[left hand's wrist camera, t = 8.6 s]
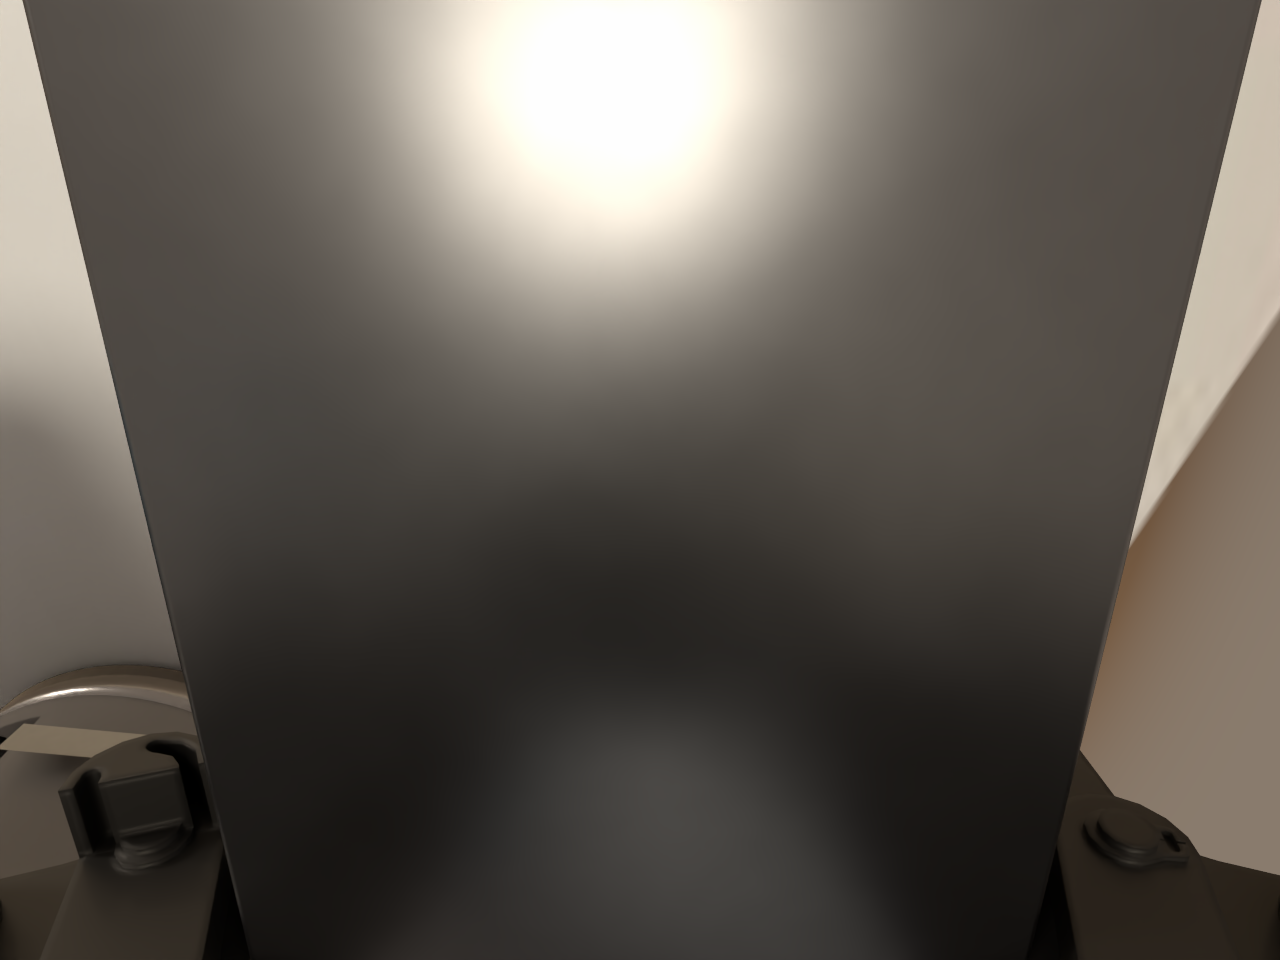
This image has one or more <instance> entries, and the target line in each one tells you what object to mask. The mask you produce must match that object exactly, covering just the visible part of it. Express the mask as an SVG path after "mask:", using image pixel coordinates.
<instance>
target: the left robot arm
mask: <svg viewBox="0 0 1280 960" xmlns="http://www.w3.org/2000/svg"><path fill="white" fill-rule="evenodd" d="M0 960H251V959H250V955H249V950H248V946H247V942H246V938H245V934H244V929H243V925H242V921H241V917H240V913H239V908H238V904H237V900H236V896H235V891H234V887H233V883H232V879H231V875H230V870H229V866H228V862H227V858H226V854H225V849H224V845H223V841H222V837H221V833H220V828H219V824H218V820H217V816H216V812H215V807H214V803H213V799H212V795H211V791H210V786H209V782H208V778H207V774H206V769H205V765H204V761H203V757H202V753H201V748H200V744H199V740H198V736H197V732H196V727H195V723H194V719H193V715H192V711H191V706H190V702H189V698H188V694H187V690H186V685H185V681H184V677H183V673H182V671H178V670H172V669H167V668H161V667H152V666H142V665H109V666H97V667H91V668H85V669H79V670H75V671H71V672H67V673H63V674H60V675H57V676H55V677H52V678H49V679H47V680H44V681H42V682H40V683H38V684H36V685H34V686H32V687H30V688H28V689H27V690H25V691H24V692H22V693H21V694H19V695H18V696H16V697H15V698H14V699H13V700H11V701H10V702H9V703H8V704H7V705H5V706H4V707H3V708H2V709H1V710H0ZM1029 960H1280V875H1276V874H1271V873H1267V872H1263V871H1259V870H1254V869H1250V868H1246V867H1241V866H1237V865H1233V864H1228V863H1224V862H1220V861H1216V860H1213V859H1210V858H1206V857H1203V856H1200V855H1199V853H1198V852H1197V850H1196V849H1195V847H1194V846H1193V844H1192V843H1191V841H1190V840H1189V838H1188V837H1187V836H1186V835H1185V834H1184V833H1183V832H1181V831H1180V830H1179V829H1178V828H1177V827H1176V826H1174V825H1173V824H1172V823H1171V822H1170V821H1168V820H1167V819H1166V818H1164V817H1162V816H1161V815H1159V814H1157V813H1155V812H1153V811H1151V810H1150V809H1148V808H1146V807H1144V806H1142V805H1140V804H1138V803H1134V802H1131V801H1128V800H1125V799H1122V798H1119V797H1115V796H1114V795H1113V793H1112V792H1111V791H1110V789H1109V788H1108V787H1107V786H1106V784H1105V783H1104V782H1103V780H1102V779H1101V778H1100V776H1099V775H1098V774H1097V772H1096V771H1095V770H1094V768H1093V767H1092V766H1091V764H1090V763H1089V762H1088V760H1087V759H1086V758H1085V756H1084V755H1083V754H1082V752H1081V751H1080V750H1079V754H1078V759H1077V763H1076V767H1075V771H1074V775H1073V779H1072V783H1071V787H1070V792H1069V796H1068V800H1067V804H1066V808H1065V812H1064V816H1063V820H1062V824H1061V829H1060V833H1059V837H1058V841H1057V845H1056V849H1055V853H1054V857H1053V862H1052V866H1051V870H1050V874H1049V878H1048V882H1047V886H1046V890H1045V895H1044V899H1043V903H1042V907H1041V911H1040V915H1039V919H1038V923H1037V927H1036V932H1035V936H1034V940H1033V944H1032V948H1031V952H1030V956H1029Z"/></svg>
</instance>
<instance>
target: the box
mask: <svg viewBox="0 0 1280 960" xmlns="http://www.w3.org/2000/svg"><path fill="white" fill-rule="evenodd" d="M1261 1H1262V0H23V4H24V8H25V12H26V17H27V21H28V25H29V29H30V33H31V38H32V42H33V46H34V50H35V54H36V59H37V63H38V67H39V71H40V75H41V80H42V84H43V88H44V92H45V96H46V101H47V105H48V109H49V113H50V117H51V122H52V126H53V130H54V134H55V138H56V143H57V147H58V151H59V155H60V160H61V164H62V168H63V172H64V176H65V181H66V185H67V189H68V193H69V197H70V202H71V206H72V210H73V214H74V218H75V223H76V227H77V231H78V235H79V239H80V244H81V248H82V252H83V256H84V260H85V265H86V269H87V273H88V277H89V282H90V286H91V290H92V294H93V298H94V303H95V307H96V311H97V315H98V319H99V324H100V328H101V332H102V336H103V340H104V345H105V349H106V353H107V357H108V361H109V366H110V370H111V374H112V378H113V382H114V387H115V391H116V395H117V399H118V404H119V408H120V412H121V416H122V420H123V425H124V429H125V433H126V437H127V441H128V446H129V450H130V454H131V458H132V462H133V467H134V471H135V475H136V479H137V483H138V488H139V492H140V496H141V500H142V504H143V509H144V513H145V517H146V521H147V525H148V530H149V534H150V538H151V542H152V547H153V551H154V555H155V559H156V563H157V568H158V572H159V576H160V580H161V584H162V589H163V593H164V597H165V601H166V605H167V610H168V614H169V618H170V622H171V626H172V631H173V635H174V639H175V643H176V647H177V652H178V656H179V660H180V664H181V669H182V673H183V677H184V681H185V685H186V690H187V694H188V698H189V702H190V706H191V711H192V715H193V719H194V723H195V727H196V732H197V736H198V740H199V744H200V748H201V753H202V757H203V761H204V765H205V769H206V774H207V778H208V782H209V786H210V791H211V795H212V799H213V803H214V807H215V812H216V816H217V820H218V824H219V828H220V833H221V837H222V841H223V845H224V849H225V854H226V858H227V862H228V866H229V870H230V875H231V879H232V883H233V887H234V891H235V896H236V900H237V904H238V908H239V913H240V917H241V921H242V925H243V929H244V934H245V938H246V942H247V946H248V950H249V955H250V959H251V960H1029V956H1030V952H1031V948H1032V944H1033V940H1034V936H1035V932H1036V927H1037V923H1038V919H1039V915H1040V911H1041V907H1042V903H1043V899H1044V895H1045V890H1046V886H1047V882H1048V878H1049V874H1050V870H1051V866H1052V862H1053V857H1054V853H1055V849H1056V845H1057V841H1058V837H1059V833H1060V829H1061V824H1062V820H1063V816H1064V812H1065V808H1066V804H1067V800H1068V796H1069V792H1070V787H1071V783H1072V779H1073V775H1074V771H1075V767H1076V763H1077V759H1078V754H1079V750H1080V746H1081V742H1082V738H1083V734H1084V730H1085V726H1086V721H1087V717H1088V713H1089V709H1090V705H1091V701H1092V697H1093V693H1094V688H1095V684H1096V680H1097V676H1098V672H1099V668H1100V664H1101V660H1102V655H1103V651H1104V647H1105V643H1106V639H1107V635H1108V631H1109V627H1110V623H1111V619H1112V614H1113V610H1114V606H1115V602H1116V598H1117V594H1118V590H1119V586H1120V581H1121V577H1122V573H1123V569H1124V565H1125V560H1126V557H1127V553H1128V549H1129V544H1130V540H1131V536H1132V532H1133V528H1134V524H1135V520H1136V516H1137V511H1138V507H1139V503H1140V499H1141V495H1142V491H1143V487H1144V483H1145V478H1146V474H1147V470H1148V466H1149V462H1150V458H1151V454H1152V450H1153V446H1154V441H1155V437H1156V433H1157V429H1158V425H1159V421H1160V417H1161V413H1162V408H1163V404H1164V400H1165V396H1166V392H1167V388H1168V384H1169V380H1170V375H1171V371H1172V367H1173V363H1174V359H1175V355H1176V351H1177V347H1178V343H1179V338H1180V334H1181V330H1182V326H1183V322H1184V318H1185V314H1186V310H1187V305H1188V301H1189V297H1190V293H1191V289H1192V285H1193V281H1194V277H1195V273H1196V268H1197V264H1198V260H1199V256H1200V252H1201V248H1202V244H1203V240H1204V235H1205V231H1206V227H1207V223H1208V219H1209V215H1210V211H1211V207H1212V202H1213V198H1214V194H1215V190H1216V186H1217V182H1218V178H1219V174H1220V170H1221V165H1222V161H1223V157H1224V153H1225V149H1226V145H1227V141H1228V137H1229V132H1230V128H1231V124H1232V120H1233V116H1234V112H1235V108H1236V104H1237V99H1238V95H1239V91H1240V87H1241V83H1242V79H1243V75H1244V71H1245V67H1246V62H1247V58H1248V54H1249V50H1250V46H1251V42H1252V38H1253V34H1254V29H1255V25H1256V21H1257V17H1258V13H1259V9H1260V5H1261Z"/></svg>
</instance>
